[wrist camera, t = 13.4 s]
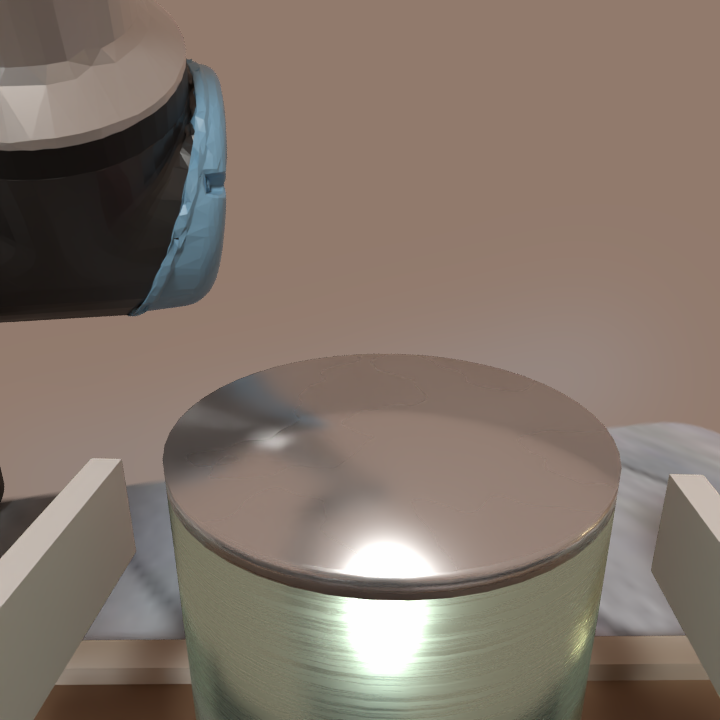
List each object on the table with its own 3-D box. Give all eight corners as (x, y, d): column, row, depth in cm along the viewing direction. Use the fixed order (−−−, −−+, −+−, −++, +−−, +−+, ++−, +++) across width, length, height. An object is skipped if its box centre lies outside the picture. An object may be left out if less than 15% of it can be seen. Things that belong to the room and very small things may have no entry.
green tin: (593, 1109, 12) (723, 567, 8) (191, 1124, 12) (89, 579, 8) (496, 723, 20) (533, 341, 15) (251, 729, 20) (218, 345, 15)
